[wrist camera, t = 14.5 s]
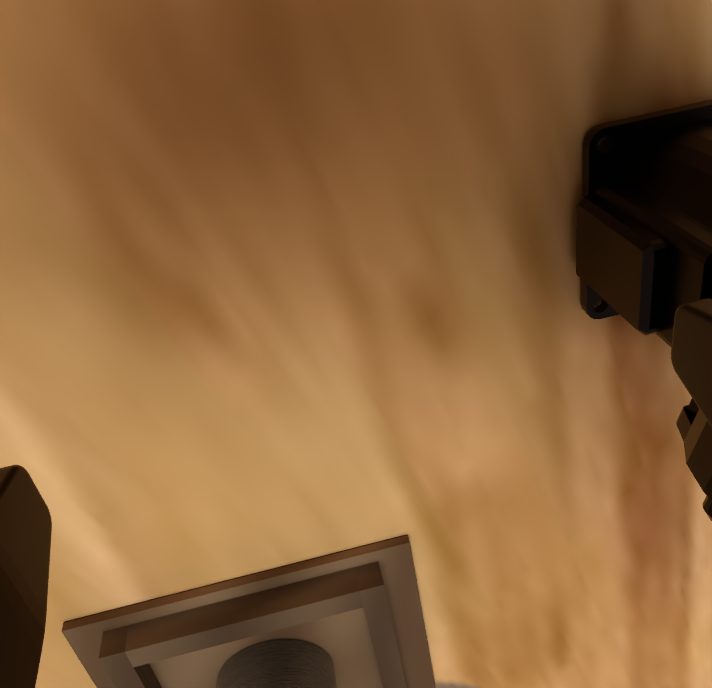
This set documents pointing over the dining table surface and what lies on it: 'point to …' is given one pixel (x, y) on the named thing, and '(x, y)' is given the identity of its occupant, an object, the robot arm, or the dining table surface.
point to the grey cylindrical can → (278, 667)
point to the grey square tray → (270, 624)
